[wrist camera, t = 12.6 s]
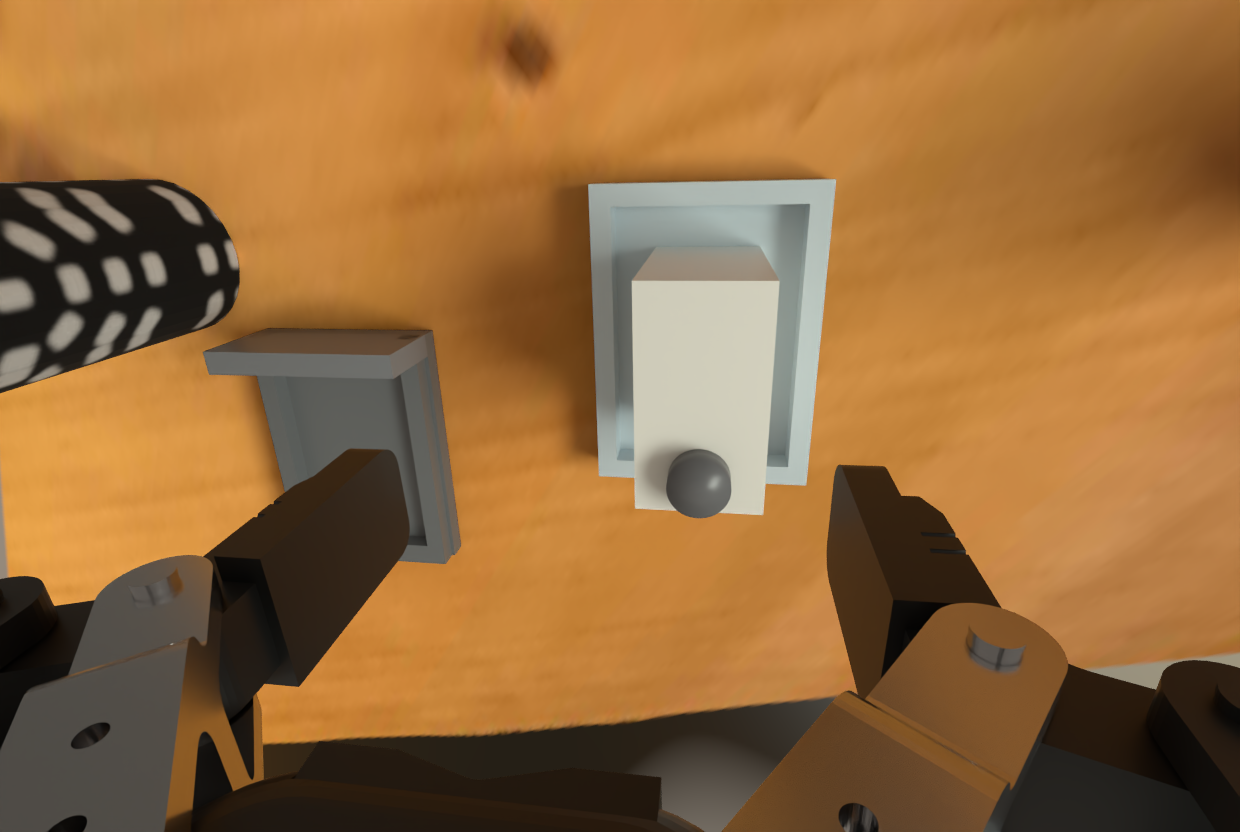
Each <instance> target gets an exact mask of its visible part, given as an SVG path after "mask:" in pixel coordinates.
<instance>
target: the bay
mask: <svg viewBox="0 0 1240 832" xmlns="http://www.w3.org/2000/svg"><path fill="white" fill-rule="evenodd" d="M203 354H204V358H205V361H206V365H207V369H208V372H209V375H249V376H257V379H258V383H259V387H260V391H261V395H262V399H263V404H264V408H265V412H266V416H267V420H268V424H269V428H270V432H271V436H272V440H273V444H274V449H275V453H276V457H277V461H278V465H279V469H280V473H281V477H282V481H283V485H284V490H285V492H286V491H288V490H289V489H290V488H291V487H293V486H294V485H296V484H298V483H300V482H302V481H304V480H307V479H309V478H311V477H313V476H314V475H316V474H317V473H318V472H319V471H321V470H322V469H323V468H324V467H326V466H327V465H328V464H330V463H331V462H332V461H333V460H335V459H336V458H337V457H338V456H340V455H341V454H342V453H343V452H345V451H346V450H348V449H351V448H354V449H385V450H391V451H392V452H393V453H394V454H395V456H396V458H397V461H398V465H399V470H400V475H401V480H402V486H403V491H404V496H405V501H406V507H407V512H408V517H409V523H410V533H409V540H408V544H407V547H406V549H405V551H404V553H403V555H402V556H401V558H400V559H399V560H398V561H408V562H423V563H438V564H446V563H447V561H448V560H449V558H450V557H451V555H455V554H456V553H457V551H458V550H459V548H460V547H461V542H460V534H459V527H458V519H457V512H456V504H455V497H454V489H453V482H452V474H451V467H450V459H449V452H448V444H447V437H446V429H445V422H444V414H443V407H442V399H441V392H440V384H439V377H438V369H437V362H436V354H435V347H434V339H433V332H432V330H360V329H285V328H267V329H264V330H262V331H259V332H256V333H253V334H251V335H248V336H245V337H242V338H240V339H237V340H234V341H231V342H229V343H226V344H223V345H220V346H217V347H215V348H212V349H209V350H206V351H204V352H203Z"/></svg>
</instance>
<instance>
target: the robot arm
mask: <svg viewBox="0 0 1240 832" xmlns="http://www.w3.org/2000/svg"><path fill="white" fill-rule="evenodd" d="M409 533H410V523H409V517H408V512H407V507H406V501H405V496H404V491H403V486H402V480H401V475H400V470H399V465H398V461H397V458H396V456H395V454H394V453H393V452H392V451H391V450H385V449H354V448H351V449H348V450H346V451H345V452H343V453H342V454H341V455H340V456H338V457H337V458H336V459H335V460H333V461H332V462H331V463H330V464H328V465H327V466H326V467H324V468H323V469H322V470H321V471H319V472H318V473H317V474H316V475H314V476H313V477H311V478H309V479H307V480H304V481H302V482H300V483H298V484H296V485H294V486H293V487H291V488H290V489H289V490H288V491H286V492H285V493H284V494H282V495H281V496H280V497H279V498H277V499H276V500H275V501H274V504H270V505H268V506H267V507H266V508H265V509H263V510H262V511H261V512H259V513H258V517H253V518H252V519H251V520H249V521H248V522H247V523H245V524H244V525H243V526H242V527H240V528H239V529H238V530H236V531H235V532H234V533H233V534H231V535H230V536H229V537H228V538H226V539H225V540H224V541H222V542H221V543H220V544H219V545H217V546H216V547H215V548H214V549H212V550H211V551H210V552H208V553H207V554H206V555H205V556H203V557H202V556H196V555H183V556H175V557H169V558H165V559H160V560H157V561H154V562H151V563H148V564H145V565H142V566H140V567H138V568H135V569H133V570H131V571H129V572H127V573H125V574H123V575H122V576H120V577H118V578H117V579H115V580H114V581H112V582H111V583H110V584H108V585H107V586H106V587H105V588H104V589H103V590H102V591H101V592H100V593H99V594H98V596H97V597H96V599H95V600H94V601H87V602H80V603H73V604H66V605H59V606H54V605H53V603H52V601H51V599H50V596H49V594H48V592H47V590H46V588H45V586H44V584H43V582H42V581H41V580H40V579H38V578H35V577H29V576H18V577H10V578H4V579H0V832H704V831H703V830H701V829H700V828H699V827H697V826H695V825H693V824H691V823H689V822H688V821H686V820H684V819H682V818H680V817H679V816H676V815H674V814H671V813H669V812H666V811H664V810H662V797H661V796H662V794H661V793H662V791H661V778H660V777H651V776H642V775H633V774H624V773H614V772H604V771H595V770H586V769H576V768H569V769H560V770H553V771H545V772H538V773H530V774H523V775H515V776H507V777H500V778H492V779H484V780H475V779H470V778H466V777H464V776H462V775H459V774H457V773H454V772H452V771H449V770H447V769H445V768H442V767H440V766H437V765H435V764H432V763H430V762H427V761H425V760H422V759H420V758H418V757H415V756H412V755H410V754H408V753H405V752H403V751H400V750H397V749H389V748H379V747H370V746H360V745H351V744H342V743H331V742H323V741H319V742H318V744H317V745H316V747H315V748H314V750H313V751H312V752H311V754H310V755H309V757H308V758H307V760H306V761H305V763H304V765H303V766H302V768H301V769H300V770H299V771H298V772H291V773H287V774H282V775H279V776H275V777H270V778H267V779H264V780H263V744H262V710H261V705H260V702H259V699H258V696H257V692H258V691H259V689H260V688H261V687H262V686H263V685H264V684H274V685H285V686H296V687H299V686H300V685H301V684H302V682H303V681H304V680H305V679H306V677H307V676H308V675H309V674H310V672H311V671H312V670H313V668H314V667H315V666H316V665H317V663H318V662H319V661H320V660H321V658H322V657H323V656H324V654H325V653H326V652H327V651H328V649H329V648H330V647H331V645H332V644H333V643H334V642H335V640H336V639H337V638H338V637H339V635H340V634H341V633H342V631H343V630H344V629H345V628H346V626H347V625H348V624H349V623H350V621H351V620H352V619H353V617H354V616H355V615H356V614H357V612H358V611H359V610H360V609H361V607H362V606H363V605H364V603H365V602H366V601H367V600H368V598H369V597H370V596H371V595H372V593H373V592H374V591H375V589H376V588H377V587H378V586H379V584H380V583H381V582H382V581H383V579H384V578H385V577H386V575H387V574H388V573H389V572H390V570H391V569H392V568H393V567H394V565H395V564H396V563H397V561H398V560H399V559H400V558H401V556H402V555H403V553H404V551H405V549H406V547H407V544H408V540H409ZM827 571H828V578H829V583H830V587H831V591H832V595H833V599H834V602H835V606H836V610H837V614H838V618H839V622H840V626H841V630H842V634H843V637H844V641H845V645H846V649H847V653H848V657H849V661H850V665H851V669H852V673H853V676H854V680H855V684H856V688H857V692H858V695H857V694H855V693H854V692H852V691H845V692H843V693H841V694H840V695H839V696H838V697H836V699H835V700H834V701H833V702H832V703H831V704H830V705H829V706H828V707H827V709H826V710H825V711H824V712H823V713H822V714H821V716H820V717H819V718H818V719H817V720H816V722H815V723H814V724H813V725H812V726H811V727H810V729H809V730H808V731H807V732H806V733H805V734H804V736H803V737H802V738H801V739H800V740H799V742H798V743H797V744H796V745H795V746H794V747H793V748H792V750H791V751H790V752H789V753H788V755H787V756H786V757H785V758H784V759H783V760H782V761H781V762H780V764H779V765H778V766H777V767H776V769H775V770H774V771H773V772H772V773H771V774H770V775H769V777H768V778H767V779H766V780H765V781H764V782H763V784H762V785H761V786H760V787H759V788H758V789H757V791H756V792H755V793H754V794H753V795H752V796H751V798H750V799H749V800H748V801H747V802H746V804H745V805H744V806H743V807H742V808H741V809H740V810H739V812H738V813H737V814H736V815H735V816H734V818H733V819H732V820H731V821H730V822H729V823H728V825H727V826H726V827H725V828H724V829H723V830H722V832H1240V668H1238V667H1234V666H1230V665H1226V664H1222V663H1216V662H1210V661H1198V660H1191V661H1182V662H1178V663H1174V664H1172V665H1171V666H1169V667H1167V668H1166V669H1165V670H1164V671H1163V673H1162V676H1161V679H1160V681H1159V684H1158V686H1157V689H1156V690H1155V689H1151V688H1147V687H1144V686H1140V685H1137V684H1133V683H1129V682H1126V681H1122V680H1118V679H1114V678H1111V677H1108V676H1104V675H1100V674H1097V673H1093V672H1090V671H1087V670H1084V669H1081V668H1078V667H1075V666H1073V665H1070V664H1068V660H1067V658H1066V655H1065V652H1064V651H1063V649H1062V648H1061V646H1060V645H1059V644H1058V642H1057V641H1056V640H1055V639H1054V638H1053V637H1052V636H1051V635H1050V634H1049V633H1047V632H1046V631H1045V630H1044V629H1042V628H1041V627H1040V626H1038V625H1037V624H1035V623H1033V622H1032V621H1030V620H1028V619H1026V618H1025V617H1022V616H1020V615H1018V614H1016V613H1013V612H1011V611H1008V610H1005V609H1002V608H1001V606H1000V605H999V603H998V602H997V600H996V598H995V597H994V595H993V594H992V592H991V590H990V589H989V587H988V585H987V584H986V582H985V581H984V579H983V577H982V576H981V574H980V573H979V571H978V569H977V568H976V566H975V564H974V563H973V561H972V560H971V558H970V556H969V555H966V550H965V548H964V547H963V545H962V544H961V542H960V540H959V539H958V538H956V537H955V532H954V531H953V529H952V527H951V526H950V524H949V523H948V521H947V519H946V518H945V516H944V514H943V513H941V512H940V511H938V510H937V509H936V508H934V507H933V506H931V505H930V504H929V503H927V502H926V501H925V500H923V499H922V498H920V497H917V496H901V495H900V493H899V491H898V489H897V487H896V485H895V483H894V482H893V480H892V478H891V476H890V474H889V472H888V470H887V469H886V467H884V466H857V465H838V466H837V468H836V471H835V476H834V484H833V494H832V503H831V513H830V522H829V531H828V541H827Z"/></svg>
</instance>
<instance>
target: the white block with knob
mask: <svg viewBox="0 0 1240 832" xmlns="http://www.w3.org/2000/svg"><path fill="white" fill-rule="evenodd" d="M779 283H780V281H779V279H778V277H777V275H776V274H775V272H774V270H773V268H772V267H771V265H770V263H769V261H768V260H767V258H766V256H765V254H764V253H763V251H762V249H761V247H760V246H710V247H656V248H655V249H654V251H653V252H652V254H651V255H650V256H649V258H648V259H647V260H646V262H645V263H644V265H643V266H642V267H641V269H640V270H639V271H638V273H637V274H636V276H635V277H634V278H633V280H632V333H633V401H634V470H635V508H636V509H656V510H675V511H679V512H680V513H682V514H684V515H686V516H689V517H693V518H707V517H711V516H713V515H715V514H717V513H734V514H753V515H763V509H764V495H765V481H766V467H767V453H768V439H769V424H770V410H771V396H772V382H773V368H774V354H775V340H776V325H777V311H778V297H779Z"/></svg>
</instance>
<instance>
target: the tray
mask: <svg viewBox="0 0 1240 832" xmlns="http://www.w3.org/2000/svg"><path fill="white" fill-rule="evenodd" d="M835 186H836V179H780V180H730V181H679V182H629V183H594V184H588V193H589V219H590V246H591V273H592V300H593V327H594V353H595V380H596V407H597V434H598V461H599V476H608V477H630V478H635V470H634V401H633V333H632V280H633V278H634V277H635V276H636V274H637V273H638V271H639V270H640V269H641V267H642V266H643V265H644V263H645V262H646V260H647V259H648V258H649V256H650V255H651V254H652V252H653V251H654V249H655V248H656V247H710V246H760V247H761V249H762V251H763V253H764V254H765V256H766V258H767V260H768V261H769V263H770V265H771V267H772V268H773V270H774V272H775V274H776V275H777V277H778V279H779V281H780V283H779V297H778V311H777V325H776V340H775V354H774V368H773V382H772V396H771V410H770V424H769V439H768V453H767V467H766V481H765V484H786V485H806V482H807V471H808V461H809V451H810V441H811V431H812V420H813V410H814V400H815V390H816V380H817V369H818V359H819V349H820V339H821V329H822V318H823V308H824V298H825V288H826V278H827V267H828V257H829V247H830V237H831V227H832V216H833V206H834V196H835Z"/></svg>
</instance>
